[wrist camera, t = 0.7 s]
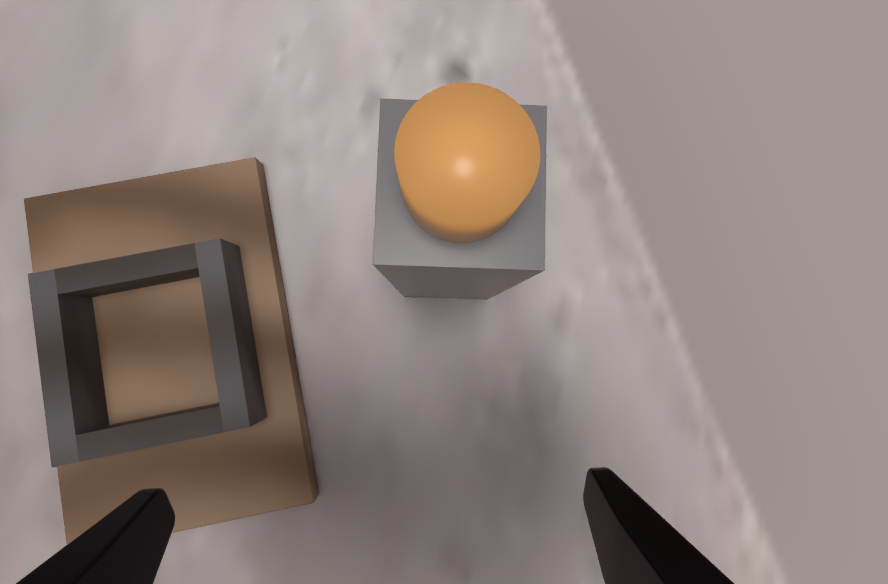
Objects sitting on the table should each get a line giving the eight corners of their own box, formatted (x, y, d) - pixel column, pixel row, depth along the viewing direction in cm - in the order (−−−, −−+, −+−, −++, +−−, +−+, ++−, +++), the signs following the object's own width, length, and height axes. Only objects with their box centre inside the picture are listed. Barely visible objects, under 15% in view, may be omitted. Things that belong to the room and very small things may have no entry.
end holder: (318, 494, 22) (300, 521, 19) (85, 544, 21) (28, 579, 18) (262, 164, 23) (237, 140, 20) (42, 204, 23) (-18, 186, 20)
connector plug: (487, 299, 23) (568, 258, 9) (404, 296, 23) (359, 250, 9) (488, 218, 23) (570, 59, 9) (407, 215, 23) (369, 50, 9)
